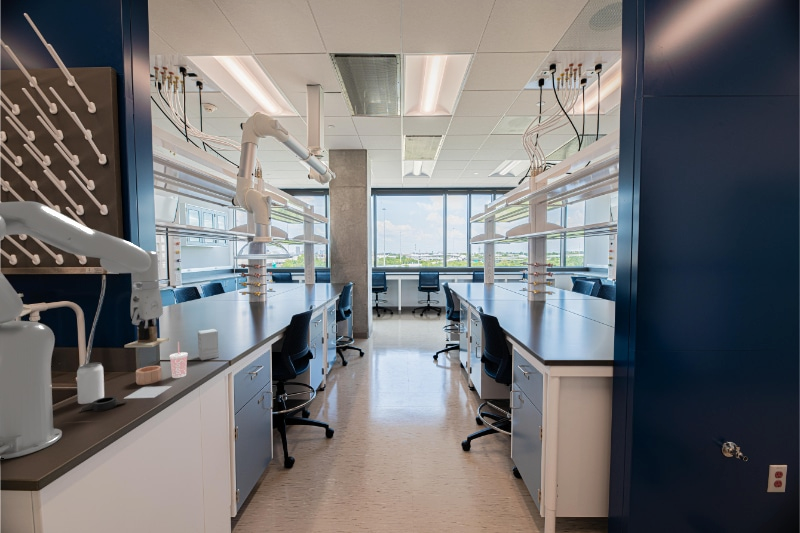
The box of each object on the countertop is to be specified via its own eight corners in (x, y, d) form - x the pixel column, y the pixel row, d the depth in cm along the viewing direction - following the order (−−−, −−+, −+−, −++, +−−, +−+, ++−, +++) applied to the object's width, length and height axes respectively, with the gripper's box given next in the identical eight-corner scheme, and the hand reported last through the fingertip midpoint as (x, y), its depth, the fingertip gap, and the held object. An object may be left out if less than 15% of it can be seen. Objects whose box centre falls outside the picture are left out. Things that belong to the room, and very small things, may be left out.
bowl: (152, 385, 125) (152, 372, 125) (131, 386, 125) (130, 372, 125) (165, 378, 133) (165, 365, 133) (145, 378, 132) (145, 366, 132)
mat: (154, 398, 114) (154, 397, 114) (123, 399, 113) (123, 398, 113) (172, 387, 124) (172, 386, 124) (143, 388, 123) (143, 386, 123)
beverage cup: (167, 380, 131) (166, 344, 130) (173, 374, 137) (172, 340, 136) (185, 378, 132) (184, 343, 132) (190, 373, 138) (189, 339, 138)
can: (88, 405, 109) (87, 369, 108) (72, 404, 110) (71, 367, 109) (109, 397, 115) (108, 362, 114) (94, 396, 116) (92, 361, 116)
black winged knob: (101, 403, 111) (101, 394, 111) (130, 404, 110) (130, 395, 110) (77, 414, 103) (77, 405, 103) (109, 415, 103) (108, 405, 102)
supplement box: (215, 354, 165) (214, 328, 165) (218, 357, 160) (218, 330, 159) (198, 357, 161) (197, 330, 160) (200, 360, 155) (200, 333, 155)
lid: (152, 346, 114) (151, 329, 114) (124, 347, 114) (123, 330, 114) (168, 340, 123) (168, 324, 123) (143, 340, 123) (142, 324, 123)
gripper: (140, 288, 110) (142, 344, 111) (170, 284, 126) (172, 333, 127) (116, 288, 110) (118, 345, 110) (150, 284, 126) (151, 333, 126)
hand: (147, 338), depth 119 cm, fingers closed on lid
